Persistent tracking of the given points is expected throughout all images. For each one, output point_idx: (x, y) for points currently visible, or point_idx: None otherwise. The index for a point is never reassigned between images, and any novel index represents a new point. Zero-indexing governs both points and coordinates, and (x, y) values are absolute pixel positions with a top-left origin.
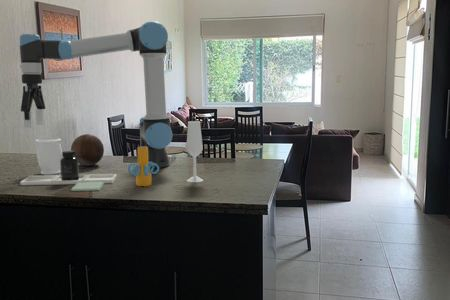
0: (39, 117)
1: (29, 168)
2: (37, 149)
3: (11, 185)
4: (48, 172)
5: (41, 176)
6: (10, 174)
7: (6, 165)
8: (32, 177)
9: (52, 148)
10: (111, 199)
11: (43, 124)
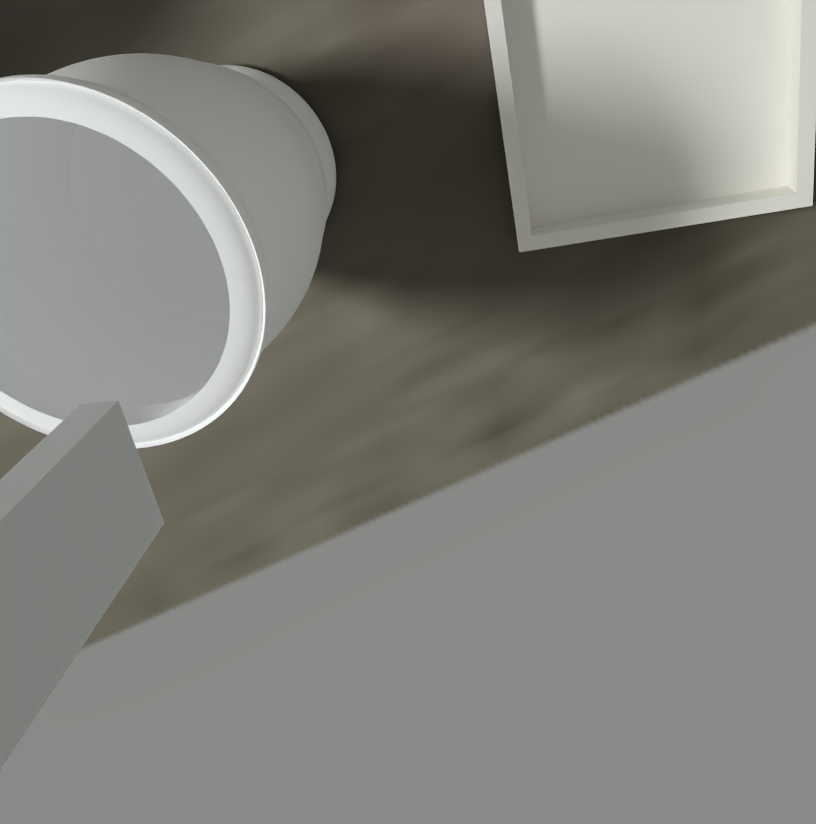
0: (59, 574)
1: None
2: (267, 344)
3: (791, 278)
4: (321, 150)
5: (516, 128)
6: (354, 485)
7: None
8: (529, 217)
9: (227, 132)
10: None
11: (102, 403)
